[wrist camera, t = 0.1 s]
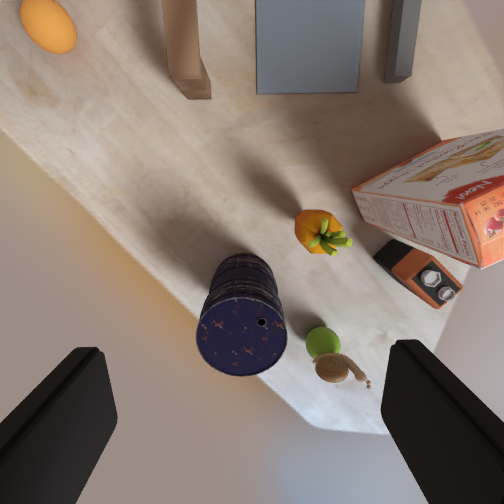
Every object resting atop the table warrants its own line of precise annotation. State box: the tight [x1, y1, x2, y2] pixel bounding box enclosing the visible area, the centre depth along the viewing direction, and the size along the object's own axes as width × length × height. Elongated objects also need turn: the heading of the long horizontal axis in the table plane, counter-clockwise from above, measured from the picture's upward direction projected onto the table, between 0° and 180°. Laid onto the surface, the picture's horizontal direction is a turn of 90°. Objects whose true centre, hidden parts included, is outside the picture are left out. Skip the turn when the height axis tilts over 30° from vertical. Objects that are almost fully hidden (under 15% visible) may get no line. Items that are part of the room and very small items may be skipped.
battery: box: [373, 239, 463, 309], centre depth 36 cm, size 4×7×10 cm, turn 49°
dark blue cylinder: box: [196, 253, 288, 377], centre depth 34 cm, size 10×10×15 cm
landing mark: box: [256, 0, 365, 94], centre depth 32 cm, size 13×13×1 cm
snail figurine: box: [306, 327, 371, 389], centre depth 38 cm, size 5×6×12 cm
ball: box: [20, 0, 76, 54], centre depth 29 cm, size 5×5×5 cm
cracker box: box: [351, 129, 504, 269], centre depth 27 cm, size 14×6×21 cm, turn 118°
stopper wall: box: [384, 0, 422, 83], centre depth 31 cm, size 11×2×2 cm, turn 1°
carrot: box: [295, 210, 352, 256], centre depth 31 cm, size 5×5×15 cm
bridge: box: [162, 0, 211, 100], centre depth 27 cm, size 3×14×9 cm, turn 1°
